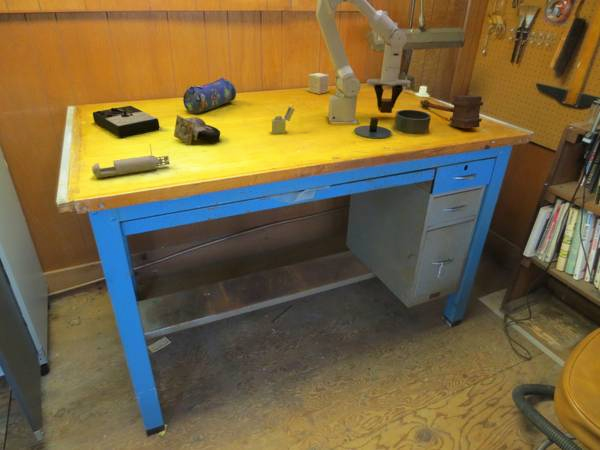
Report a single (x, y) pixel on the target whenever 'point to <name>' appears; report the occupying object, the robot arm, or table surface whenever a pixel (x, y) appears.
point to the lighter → (281, 122)
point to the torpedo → (130, 165)
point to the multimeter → (126, 121)
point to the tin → (412, 121)
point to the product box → (318, 83)
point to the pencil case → (208, 96)
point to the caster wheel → (195, 130)
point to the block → (386, 106)
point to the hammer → (461, 111)
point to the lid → (373, 130)
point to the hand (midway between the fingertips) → (385, 107)
